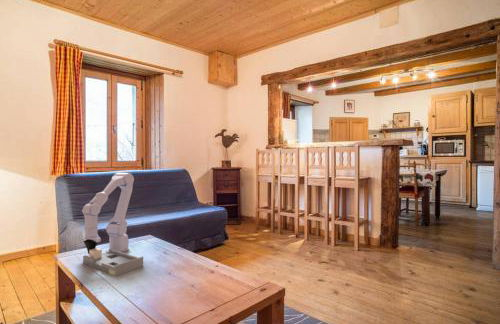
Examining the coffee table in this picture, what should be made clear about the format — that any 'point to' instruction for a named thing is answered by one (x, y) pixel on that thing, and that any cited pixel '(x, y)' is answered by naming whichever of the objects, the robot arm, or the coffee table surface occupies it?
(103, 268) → the board
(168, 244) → the coffee table surface
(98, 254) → the block
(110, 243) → the robot arm
